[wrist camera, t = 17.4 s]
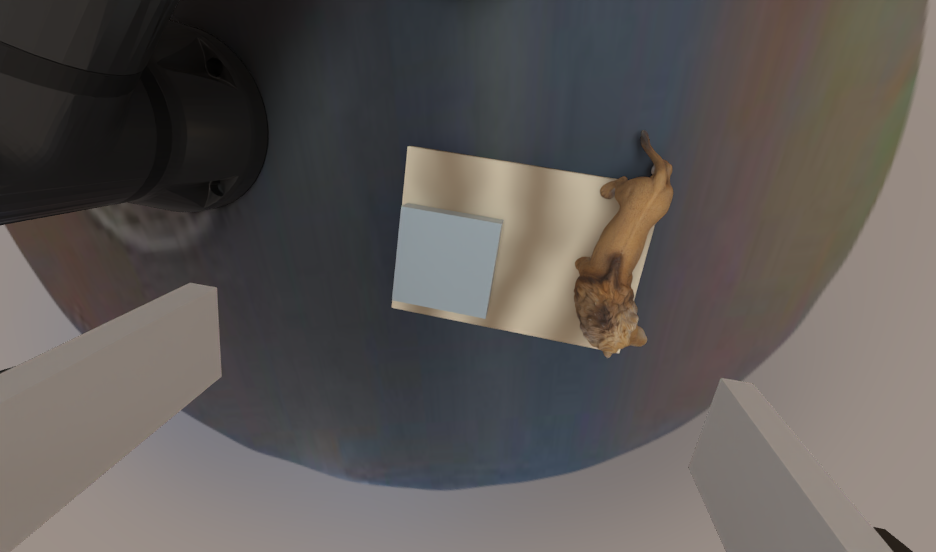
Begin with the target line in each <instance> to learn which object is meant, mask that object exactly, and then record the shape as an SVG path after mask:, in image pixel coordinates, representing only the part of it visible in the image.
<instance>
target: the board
mask: <svg viewBox="0 0 936 552" xmlns="http://www.w3.org/2000/svg"><path fill="white" fill-rule="evenodd" d="M615 180H617V179H615V178H608V177H602V176H596V175H590V174H583V173H577V172H571V171H565V170H559V169H552V168H546V167H540V166H534V165H528V164H521V163H515V162H509V161H503V160H497V159H490V158H484V157H478V156H472V155H465V154H459V153H453V152H447V151H441V150H434V149H428V148H422V147H416V146H408V149H407V159H406V169H405V179H404V189H403V199H402V206H403V205H405V204H407V203H411V204H416V205H422V206H428V207H434V208H439V209H445V210H451V211H456V212H462V213H468V214H474V215H479V216H485V217H491V218H496V219H502V220H504V221H503V226H502V232H501V238H500V244H499V250H498V256H497V261H496V267H495V273H494V279H493V285H492V291H491V296H490V302H489V308H488V312H487V316H486V319H484V318H479V317H474V316H469V315H464V314H459V313H454V312H449V311H444V310H439V309H434V308H429V307H424V306H419V305H414V304H409V303H403V302H398V301H393V300H392V308H396V309H401V310H406V311H410V312H415V313H420V314H425V315H430V316H435V317H440V318H445V319H450V320H455V321H460V322H465V323H470V324H475V325H480V326H485V327H490V328H495V329H500V330H505V331H510V332H515V333H520V334H525V335H530V336H535V337H540V338H545V339H550V340H555V341H560V342H565V343H570V344H575V345H580V346H585V347H590V348H595V349H598V348H597V347H593V346H592V345H591V344H590V343H589V342H588V340H587V339H585V338H584V337H583V332H582V331H581V329H580V321H579V319H578V317H577V313H576V308H575V302H574V295H575V293H574V289H575V283H576V280H577V278H578V277H579V276H580V274H579V271H578V270H577V269H576V266H575V262H576V260H577V259H579V258H581V257H590V258H591V256H592V253H593V250H594V248H595V246H596V244H597V242H598V240H599V238H600V236H601V234H602V232H603V230H604V228H605V227H606V226H607V224H608V223H609V222H610V221H611V220H612V219H613V217H614V216H615V215H616V214H617V212H618V211H619V208H620V205H619V203H618V201H617V200H616V199H615V196H614V197H613V198H612V199H606V198H604V197H602V196H601V194H600V189H601V188H602V186H603V185H605V184H606V183H608V182H611V181H615ZM654 226H655V224H654V225H653V227H652V228H651V229H650V231H649V233H648V235H647V239H646V242H645V245H644V249H643V251H642V254H641V257H640V259H639V261H638V263H637V265H636V267H635V268H634V270H633V272H632V275H633V280H632V283H631V288H632V289H633V292H634V298H635V295H636V291H637V288H638V284H639V280H640V277H641V273H642V270H643V266H644V262H645V259H646V255H647V252H648V248H649V244H650V241H651V237H652V234H653V230H654ZM634 298H633V301H634ZM599 350H600V349H599ZM616 353H620V349H619V350H618V351H617V352H616Z"/></svg>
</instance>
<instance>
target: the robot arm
mask: <svg viewBox="0 0 936 552" xmlns="http://www.w3.org/2000/svg"><path fill="white" fill-rule="evenodd" d="M178 2H179V0H0V225H4V224H10V223H15V222H21V221H26V220H32V219H37V218H43V217H48V216H53V215H59V214H64V213H70V212H75V211H81V210H86V209H92V208H97V207H102V206H108V205H113V204H119V203H125V202H128V203H133V204H139V205H144V206H149V207H154V208H159V209H164V210H170V211H176V212H198V211H204V210H208V209H213V208H217V207H221V206H224V205H226V204H229V203H231V202H233V201H234V200H236V199H238V198H239V197H240V196H242V195H243V194H244V193H245V192H246V191H247V190H248V189H249V188H250V187H251V185H252V184H253V183H254V181H255V180H256V178H257V176H258V174H259V172H260V170H261V168H262V165H263V162H264V159H265V155H266V149H267V138H268V131H267V119H266V113H265V109H264V105H263V101H262V98H261V96H260V93H259V90H258V88H257V86H256V84H255V82H254V80H253V78H252V76H251V75H250V73H249V71H248V70H247V68H246V67H245V66H244V64H243V63H242V62H241V60H240V59H239V58H238V57H237V56H236V55H235V54H234V53H233V52H232V51H231V50H230V49H229V48H228V47H227V46H226V45H225V44H223V43H222V42H221V41H219V40H218V39H216V38H215V37H213V36H212V35H210V34H208V33H206V32H204V31H202V30H199V29H196V28H193V27H190V26H187V25H183V24H180V23H176V22H173V21H169V19H170V17H171V15H172V13H173V11H174V9H175V7H176V5H177V3H178ZM221 376H222V375H221V356H220V338H219V319H218V300H217V287H211V286H205V285H200V284H194V283H188V284H186V285H184V286H182V287H180V288H178V289H176V290H174V291H172V292H170V293H168V294H165V295H163V296H161V297H159V298H157V299H155V300H153V301H151V302H149V303H147V304H145V305H142V306H140V307H138V308H136V309H134V310H132V311H130V312H128V313H126V314H124V315H122V316H119V317H117V318H115V319H113V320H111V321H109V322H107V323H105V324H103V325H101V326H99V327H96V328H94V329H92V330H90V331H88V332H86V333H84V334H82V335H80V336H78V337H76V338H74V339H71V340H69V341H67V342H65V343H63V344H61V345H59V346H57V347H55V348H53V349H51V350H48V351H47V352H44V353H42V354H40V355H38V356H36V357H34V358H32V359H30V360H28V361H25V362H23V363H21V364H19V365H17V366H14V367H12V368H8V369H5V370H2V371H0V552H10V551H12V550H13V549H14V548H15V547H16V546H18V545H19V544H20V543H21V542H22V541H24V540H25V539H26V538H27V537H28V536H30V535H31V534H32V533H33V532H34V531H35V530H37V529H38V528H39V527H41V526H42V525H43V524H44V523H45V522H47V521H48V520H49V519H50V518H51V517H53V516H54V515H55V514H56V513H57V512H59V511H60V510H61V509H62V508H63V507H65V506H66V505H67V504H68V503H69V502H71V501H72V500H73V499H74V498H75V497H76V496H78V495H79V494H80V493H81V492H83V491H84V490H85V489H86V488H88V487H89V486H90V485H91V484H92V483H94V482H95V481H96V480H97V479H98V478H100V477H101V476H102V475H103V474H104V473H106V472H107V471H108V470H109V469H110V468H112V467H113V466H114V465H115V464H116V463H117V462H119V461H120V460H121V459H122V458H123V457H125V456H126V455H127V454H129V453H130V452H131V451H132V450H133V449H135V448H136V447H137V446H138V445H139V444H140V443H142V442H143V441H144V440H145V439H147V438H148V437H149V436H150V435H151V434H153V433H154V432H155V431H156V430H158V429H159V428H160V427H161V426H162V425H163V424H165V423H166V422H167V421H168V420H170V419H171V418H172V417H173V416H174V415H175V414H177V413H178V412H179V411H180V410H182V409H183V408H184V407H185V406H186V405H188V404H189V403H190V402H191V401H193V400H194V399H195V398H196V397H197V396H199V395H200V394H201V393H202V392H203V391H205V390H206V389H207V388H208V387H209V386H211V385H212V384H213V383H214V382H215V381H217V380H218V379H219V378H220V377H221ZM688 468H689V470H690V473H691V475H692V477H693V479H694V481H695V484H696V486H697V488H698V490H699V493H700V495H701V497H702V499H703V502H704V504H705V506H706V508H707V511H708V513H709V515H710V517H711V519H712V522H713V524H714V526H715V528H716V531H717V533H718V535H719V537H720V540H721V542H722V544H723V546H724V549H725V551H726V552H912V551H911V550H910V549H909V548H907V547H906V546H905V545H904V544H903V543H901V542H900V541H899V540H898V539H896V538H895V537H894V536H892V535H891V534H890V533H889V532H888V531H886V530H885V529H881V528H876V527H872V526H871V524H870V523H869V522H868V521H867V520H866V518H865V517H864V516H863V515H862V513H861V512H860V511H859V510H858V509H857V507H856V506H855V505H854V504H853V503H852V502H851V500H850V499H849V498H848V497H847V496H846V494H845V493H844V492H843V491H842V490H841V488H840V487H839V486H838V485H837V484H836V482H835V481H834V480H833V479H832V478H831V476H830V475H829V474H828V473H827V472H826V470H825V469H824V468H823V467H822V466H821V464H820V463H819V462H818V461H817V460H816V458H815V457H814V456H813V455H812V454H811V452H810V451H809V450H808V449H807V448H806V447H805V445H804V444H803V443H802V442H801V440H800V439H799V438H798V437H797V436H796V435H795V433H794V432H793V431H792V430H791V428H790V427H789V426H788V425H787V424H786V422H785V421H784V420H783V419H782V418H781V417H780V415H779V414H778V413H777V412H776V411H775V409H774V408H773V407H772V406H771V404H770V403H769V402H768V401H767V400H766V399H765V397H764V396H763V395H762V394H761V393H760V391H759V390H758V389H757V388H756V386H755V385H754V384H753V383H747V382H741V381H736V380H730V379H725V378H721V379H720V381H719V384H718V387H717V390H716V392H715V395H714V398H713V401H712V403H711V406H710V409H709V412H708V414H707V417H706V420H705V423H704V425H703V428H702V431H701V434H700V437H699V439H698V442H697V445H696V447H695V451H694V453H693V456H692V458H691V462H690V464H689V467H688Z"/></svg>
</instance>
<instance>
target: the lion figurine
mask: <svg viewBox="0 0 936 552" xmlns="http://www.w3.org/2000/svg"><path fill="white" fill-rule="evenodd" d="M640 142H641V145H642V147H643V149H644V151H645V152H646V153H647V154H648V156H649V157H650V158H651V160H652V162H653V163H654V165H653V167H652V170H651V173H652V176H651V177H650V178H649V177H637V178H633V179H630V180H628V179H627V177H625V176H623V177H620V178H619V179H617V180H615V181H611V182H608V183H606V184H605V185H603V186H602V188H601V189H600V194H601V196H602V197H604V198H606V199H612V198H613V197H614V196H615V199H616V200H617V201H618V203H619V205H620V208H619V211H618V212H617V214H616V215H615V216H614V217H613V219H612V220H611V221H610V222H609V223H608V224H607V226H606V227H605V228H604V230H603V232H602V234H601V236H600V238H599V240H598V242H597V244H596V246H595V248H594V250H593V253H592V256H591V258H590V257H581V258H579V259H577V260H576V262H575V266H576V269H577V270H578V271H579V274H580V276H579V277H578V278H577V280H576V283H575V289H574V293H575V295H574V302H575V308H576V313H577V317H578V319H579V321H580V329H581V331H582V332H583V337H584V338H585V339H587V340H588V342H589V343H590V344H591V345H592V346H593V347H597V348H598V349H600V350H602V351H603V353H604V355H605V356H606V357H607V358H608V357H610V356H611V355H612V353H616V352H617V351H618V350H619V349H622V348H624V347H627V346H629V345H632V346H642V345H644V344H645V343H646V342H647V337H646V336H645V332H644V330H643V329H642V328H641V327H639V326H637V322H638V319H639V317H638V315H637V306H636V304H635V302H634V301H633V298H634V292H633V289H632V288H631V283H632V280H633V275H632V272H633V270H634V268H635V267H636V265H637V263H638V261H639V259H640V257H641V254H642V251H643V249H644V245H645V242H646V239H647V235H648V233H649V231H650V229H651V228H652V227H653V225H654V224H656V223H657V222H658V221H659V220H660V219H661V218H662V217H663V216H664V215H665V214H666V213H667V211H668V209H669V206H670V203H671V200H672V197H673V188H672V186H671V185H670V175H671V173H672V166H671V165H670V164H669V163H668V162H667V161H666V160H663V159H662V158H661V157H660V156H659V155H658V154H657V153H656V152H655V151H654V149H653V148H652V146H651V145H650V139H649V136H648V133H647V131H645V130H643V131H641V137H640Z"/></svg>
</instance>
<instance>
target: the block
mask: <svg viewBox="0 0 936 552" xmlns="http://www.w3.org/2000/svg"><path fill="white" fill-rule="evenodd" d="M503 221H504V220H502V219H496V218H491V217H485V216H479V215H474V214H468V213H462V212H456V211H451V210H445V209H439V208H434V207H428V206H422V205H416V204H411V203H407V204H405V205H403V206H401V214H400V224H399V235H398V245H397V255H396V265H395V275H394V285H393V295H392V300H393V301H398V302H403V303H409V304H414V305H419V306H424V307H429V308H434V309H439V310H444V311H449V312H454V313H459V314H464V315H469V316H474V317H479V318H484V319H486V316H487V312H488V308H489V302H490V296H491V291H492V285H493V279H494V273H495V267H496V261H497V256H498V250H499V244H500V238H501V232H502V226H503Z"/></svg>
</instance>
